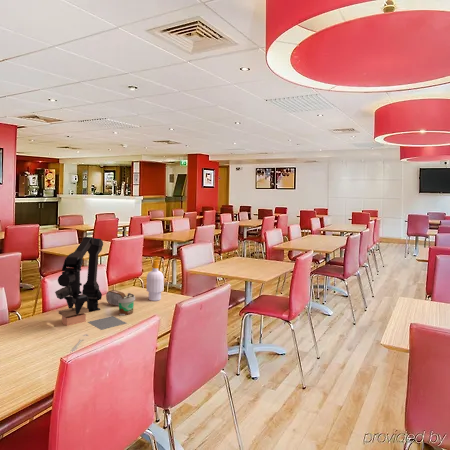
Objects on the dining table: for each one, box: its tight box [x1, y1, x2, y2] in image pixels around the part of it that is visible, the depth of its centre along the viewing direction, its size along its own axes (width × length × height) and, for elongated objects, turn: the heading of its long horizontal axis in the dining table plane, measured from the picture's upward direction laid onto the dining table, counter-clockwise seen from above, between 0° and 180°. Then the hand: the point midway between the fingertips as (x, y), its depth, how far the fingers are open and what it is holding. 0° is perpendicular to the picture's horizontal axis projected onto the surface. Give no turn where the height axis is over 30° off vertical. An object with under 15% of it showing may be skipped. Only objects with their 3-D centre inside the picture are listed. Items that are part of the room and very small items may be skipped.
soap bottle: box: [146, 259, 165, 302], centre depth 240 cm, size 10×10×24 cm
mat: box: [87, 315, 128, 331], centre depth 197 cm, size 14×14×1 cm
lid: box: [58, 305, 90, 317], centre depth 195 cm, size 7×12×2 cm, turn 136°
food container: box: [118, 292, 136, 316], centre depth 212 cm, size 12×6×10 cm, turn 168°
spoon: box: [69, 333, 89, 354], centre depth 170 cm, size 4×21×2 cm, turn 179°
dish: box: [61, 313, 87, 327], centre depth 196 cm, size 6×10×4 cm, turn 136°
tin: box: [105, 289, 127, 307], centre depth 227 cm, size 15×3×8 cm, turn 58°
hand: (73, 312), depth 196 cm, fingers closed on lid, 7 cm apart
